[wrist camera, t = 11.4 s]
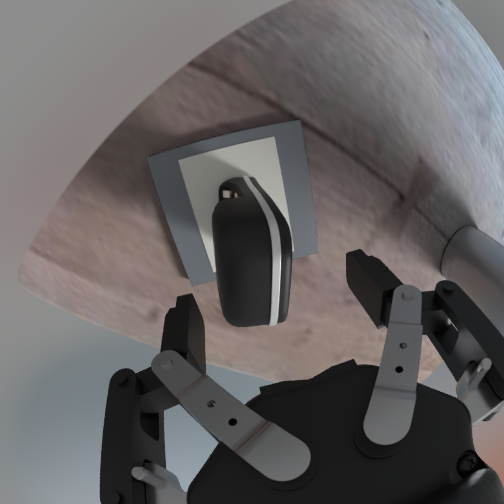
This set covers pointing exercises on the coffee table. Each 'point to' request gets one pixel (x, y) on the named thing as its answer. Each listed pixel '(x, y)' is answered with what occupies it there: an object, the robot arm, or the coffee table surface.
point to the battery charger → (251, 254)
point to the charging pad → (227, 167)
